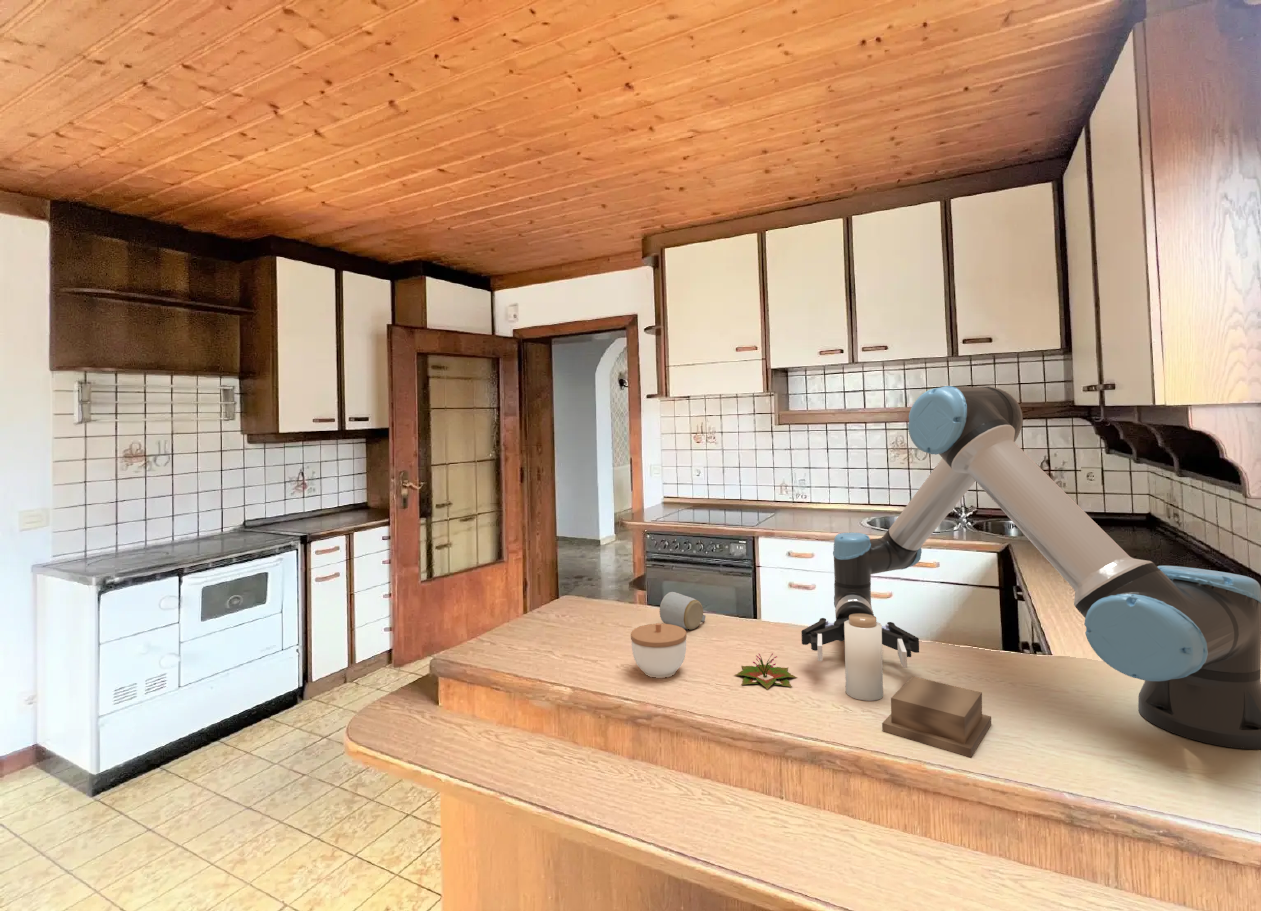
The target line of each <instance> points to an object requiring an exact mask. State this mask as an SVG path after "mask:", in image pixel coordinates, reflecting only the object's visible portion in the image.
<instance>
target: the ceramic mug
mask: <svg viewBox="0 0 1261 911" xmlns="http://www.w3.org/2000/svg"><path fill="white" fill-rule="evenodd" d="M659 617H660V620H661V621H662V622H663V624H671V625H676V626H679V627H682V628H683V629H685V630H688V629H689V630H688V631H690V630H695V629H697V628H698V626H700V624H701V623H702V622H703V623H704V622H705V621H706V617H707V616H706V615H705V614H704V607H703V605H702V603H701V602H700V601H699V600H698V599H695V597H690V596H687V595H684V594H681V593H678V592H675V591H670V592H669V591H668V593H667V594H665V595H664V596H663V598H662V600H661V601H660V605H659Z"/></svg>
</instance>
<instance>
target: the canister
mask: <svg viewBox="0 0 1261 911" xmlns="http://www.w3.org/2000/svg"><path fill="white" fill-rule="evenodd" d="M882 626H883V625H882V624H881V623H880V622H878V621H877V617H876V616H875V615H874V616H873V615H869V614H860V613H858V614H851V615H849V620H847V621H845V622H844V634H845V640H844V669H845V670H844V671H845V672H844V674H845V675H844V676H845V678H844V679H845V693H846V694H847V695H848V696H849V697H851V698H853V699H856V700H860V701H867V702H871V701H872V702H874V701H878V700H881V699H883V697H884V680H883V679H884V677H883V674H884V672H883V644H882Z"/></svg>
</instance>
